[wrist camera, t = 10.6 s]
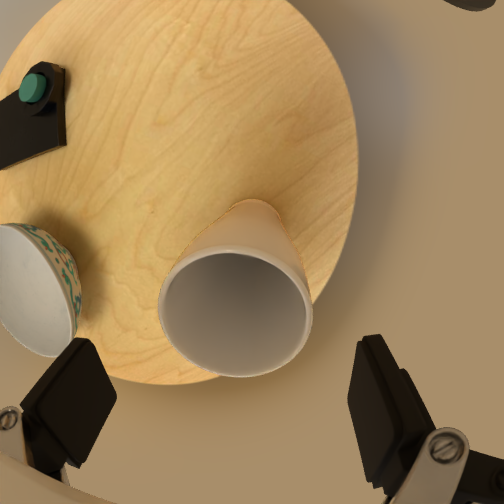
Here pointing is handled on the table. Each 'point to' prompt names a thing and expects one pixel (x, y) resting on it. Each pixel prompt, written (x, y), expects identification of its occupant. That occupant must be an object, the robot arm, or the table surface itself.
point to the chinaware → (38, 289)
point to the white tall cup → (238, 295)
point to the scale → (33, 119)
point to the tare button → (32, 88)
